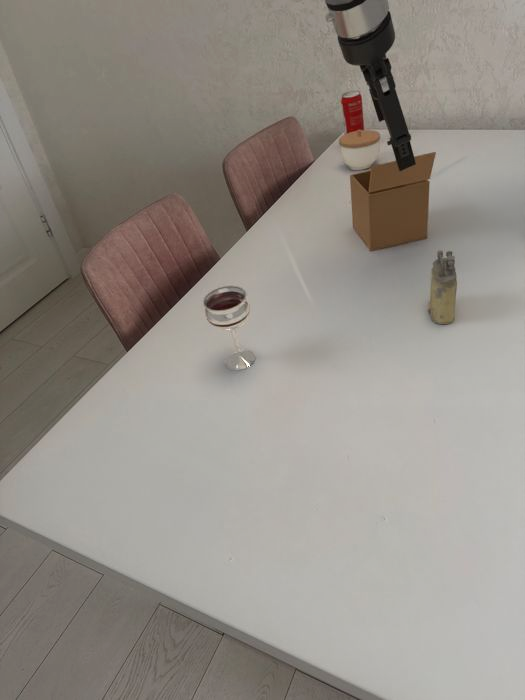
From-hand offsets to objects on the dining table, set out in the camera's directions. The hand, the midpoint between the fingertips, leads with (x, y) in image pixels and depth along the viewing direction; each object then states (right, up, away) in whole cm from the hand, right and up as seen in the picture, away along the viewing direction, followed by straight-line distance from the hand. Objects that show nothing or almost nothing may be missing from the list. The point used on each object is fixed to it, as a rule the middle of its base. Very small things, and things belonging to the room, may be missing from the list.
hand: (396, 141), depth 85 cm
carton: (+4, -11, +19) cm, 23 cm away
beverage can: (+5, +24, +63) cm, 68 cm away
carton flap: (+2, -4, +5) cm, 6 cm away
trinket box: (+4, +14, +51) cm, 53 cm away
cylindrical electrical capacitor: (+6, -30, -4) cm, 31 cm away
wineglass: (-27, -38, -5) cm, 46 cm away
